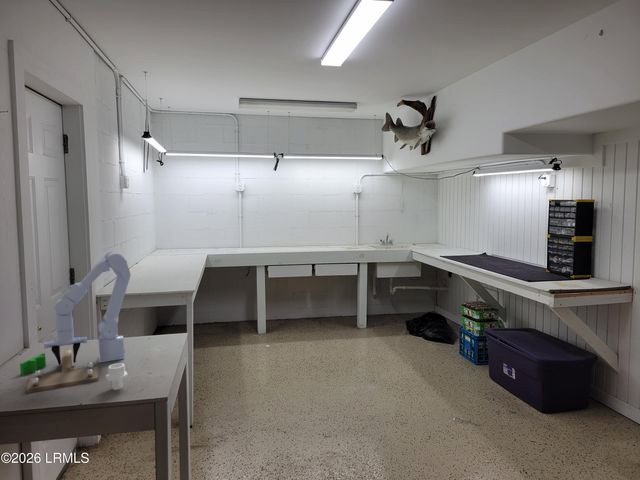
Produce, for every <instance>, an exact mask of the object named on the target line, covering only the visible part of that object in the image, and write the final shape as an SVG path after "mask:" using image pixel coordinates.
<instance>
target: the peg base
mask: <svg viewBox="0 0 640 480" xmlns="http://www.w3.org/2000/svg"><path fill="white" fill-rule="evenodd" d="M34 374H35V376H30V379H29V380H28V383H27V385H26V389H25V393H26V394H28V393H33V392H34V393H35V392H39V391H44V390H45V391H47V390H52V389H57V388H63V387H68V386H76V385H80V384H86V383H93V382H98V381H99V375H100V373H99V366H98V365H97V366H94V362H93V361H89V362H88V363H87V367H86V368H80V369H79V368H78V369H73V370H72V369H71V371H65V372H62V371H60V372H53V373H46V374H42V369H41V370H40V369H37V371H35V372H34Z"/></svg>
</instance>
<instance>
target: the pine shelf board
mask: <svg viewBox="0 0 640 480" xmlns="http://www.w3.org/2000/svg"><path fill="white" fill-rule="evenodd" d="M72 365H73V349H68V350H67V349H65V350H63V352H62V356H61V372H65V371H71V370H72Z"/></svg>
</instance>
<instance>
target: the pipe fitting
mask: <svg viewBox="0 0 640 480" xmlns="http://www.w3.org/2000/svg"><path fill="white" fill-rule="evenodd" d="M125 366H126V365H125V364H124V363H123V362H117V363H112V364H109V366H108V367H107V370H108V371H107V373H108V374H105V378H106V380H107V382H111V387H112V390H113V389H114V391H117V389H118V390H121V389H122V388H123V380H124V379H126V378H129V377H128V376H129V375H128V372H127V371H126V368H125Z"/></svg>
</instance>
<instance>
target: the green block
mask: <svg viewBox="0 0 640 480" xmlns="http://www.w3.org/2000/svg"><path fill="white" fill-rule="evenodd" d="M46 362H47V361H46V353H43V352H41V353H40V354H37V355H35V356H34V357H31V358H29V359H26V360H25V361H23V362H21V363H19V367H20V375H23V376H24V375H26V374H27V373H31V372H32V373H35V371H37V370H39V369H41V368H46V367H47V363H46Z"/></svg>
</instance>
